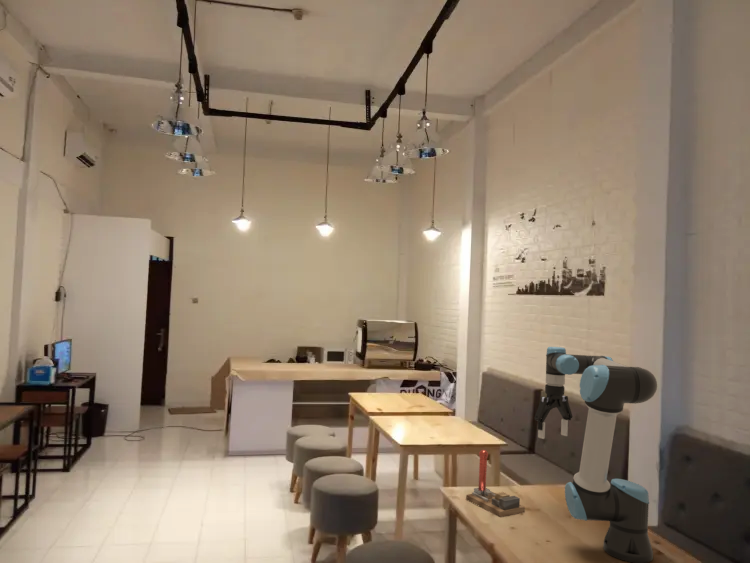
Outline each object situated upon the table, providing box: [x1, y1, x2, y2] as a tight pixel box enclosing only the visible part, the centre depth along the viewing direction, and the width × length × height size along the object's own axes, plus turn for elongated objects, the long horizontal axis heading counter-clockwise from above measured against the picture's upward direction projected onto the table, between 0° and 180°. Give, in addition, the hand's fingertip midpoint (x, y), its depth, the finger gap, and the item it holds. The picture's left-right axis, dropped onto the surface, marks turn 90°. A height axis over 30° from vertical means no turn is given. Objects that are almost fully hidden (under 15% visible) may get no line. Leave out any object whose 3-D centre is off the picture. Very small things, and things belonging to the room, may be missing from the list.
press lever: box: [473, 449, 493, 498], centre depth 227 cm, size 7×5×18 cm
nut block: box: [494, 491, 511, 500], centre depth 218 cm, size 4×4×4 cm
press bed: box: [465, 490, 526, 518], centre depth 221 cm, size 20×13×6 cm, turn 31°
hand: (552, 436), depth 223 cm, fingers open, 13 cm apart
